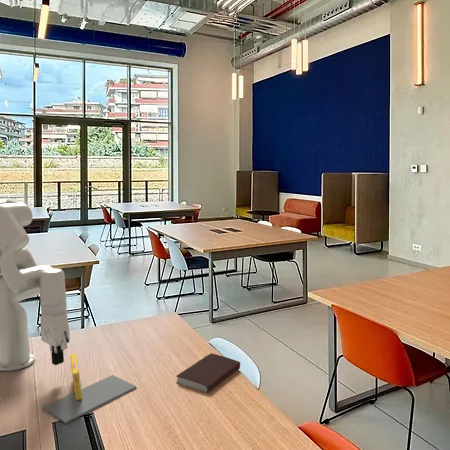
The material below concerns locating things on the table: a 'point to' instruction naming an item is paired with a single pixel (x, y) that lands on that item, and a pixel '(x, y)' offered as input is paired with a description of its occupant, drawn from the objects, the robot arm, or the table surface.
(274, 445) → the table surface
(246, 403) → the table surface
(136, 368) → the table surface
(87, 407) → the mat
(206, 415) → the table surface
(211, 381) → the book
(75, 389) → the candy box
